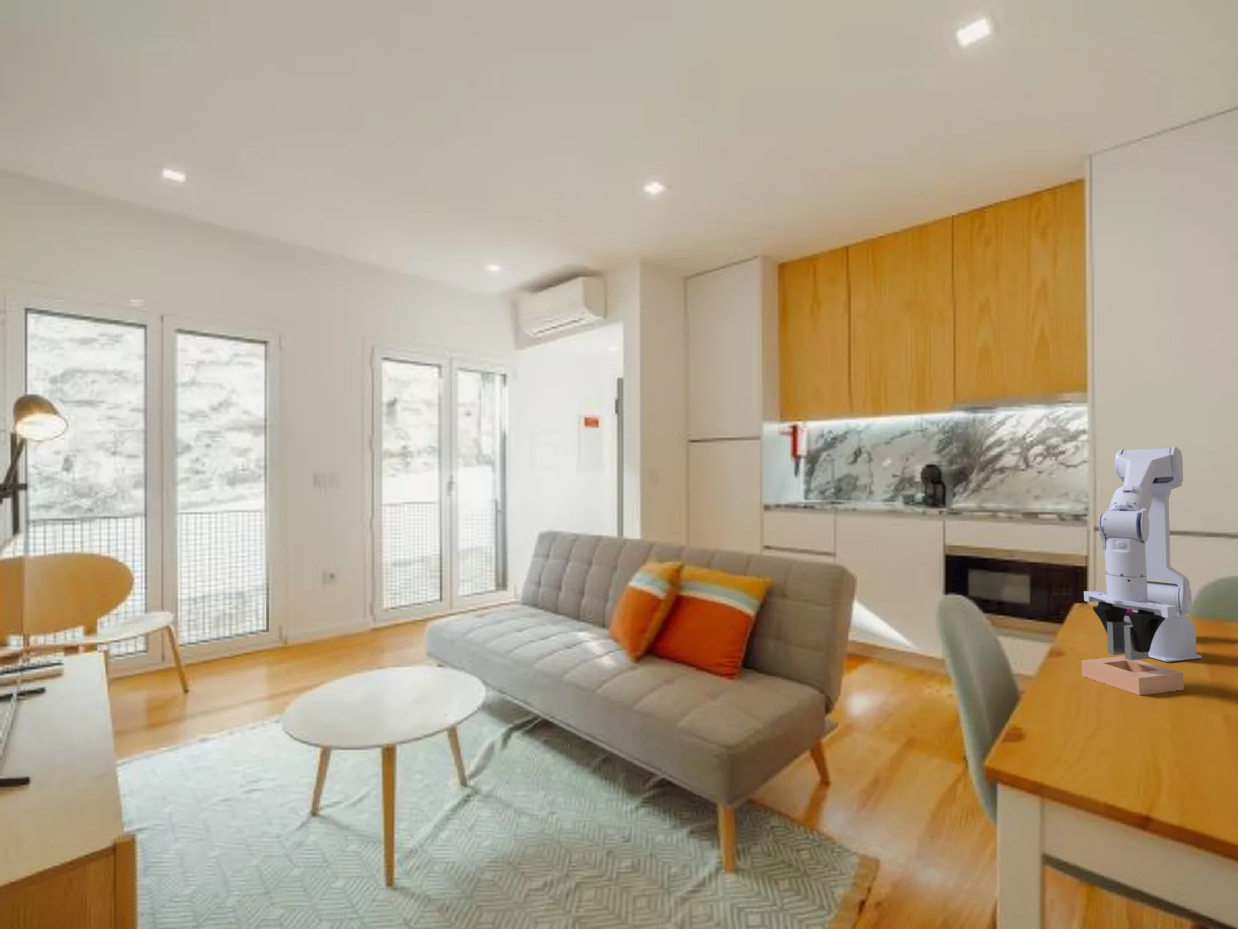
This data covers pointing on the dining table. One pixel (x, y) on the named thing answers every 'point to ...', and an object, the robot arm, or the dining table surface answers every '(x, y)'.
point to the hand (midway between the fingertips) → (1129, 647)
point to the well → (1132, 675)
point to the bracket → (1123, 640)
